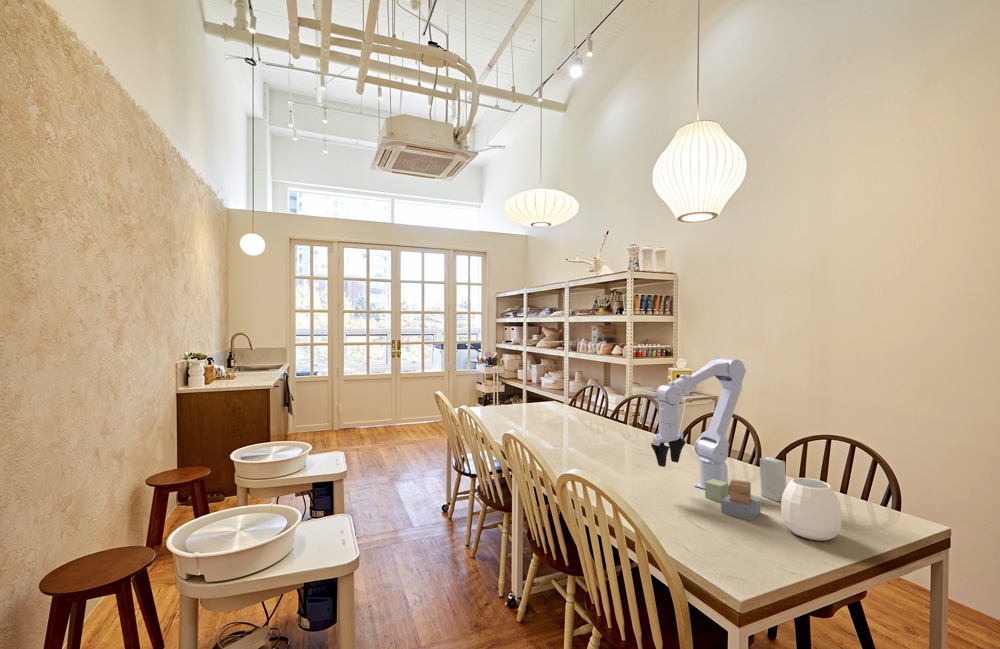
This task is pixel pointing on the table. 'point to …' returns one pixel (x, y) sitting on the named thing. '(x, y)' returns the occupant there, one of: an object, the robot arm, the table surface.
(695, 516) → the table surface
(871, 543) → the table surface
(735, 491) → the walnut cube
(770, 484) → the skincare box
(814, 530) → the white round vase
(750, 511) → the slate block
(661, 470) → the table surface
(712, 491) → the olive cube
